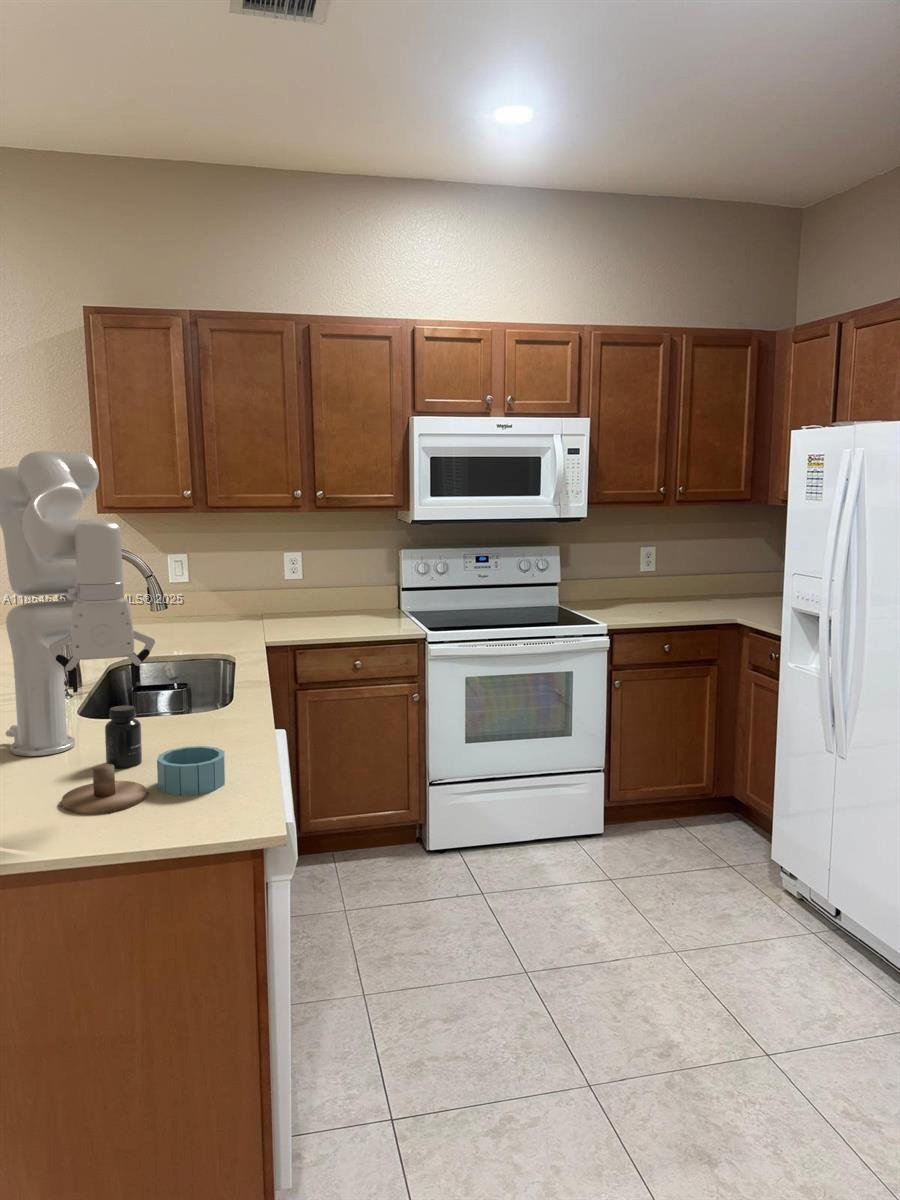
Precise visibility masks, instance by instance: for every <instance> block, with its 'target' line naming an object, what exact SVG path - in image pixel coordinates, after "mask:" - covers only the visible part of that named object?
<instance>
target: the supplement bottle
mask: <svg viewBox="0 0 900 1200" xmlns="http://www.w3.org/2000/svg"><path fill="white" fill-rule="evenodd" d="M108 716H109V721H108V722H107V723H106V724H105V726H104V735H105V738H104V739H105V742H104V743H105V764H112V765H114V770H124V769H131V768H135V767H137V766H140V765H141V764H142V763H143V760H142V759H143V758H142V757H143V756H142V755H143V751H142V724H141V722H140V721H139V720H138V719H136V716H137V714H136V707H135V706H133V705H118V706H113V707H110V709H109V715H108Z"/></svg>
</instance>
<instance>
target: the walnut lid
mask: <svg viewBox="0 0 900 1200" xmlns="http://www.w3.org/2000/svg"><path fill="white" fill-rule="evenodd" d="M115 775H116V773H115V769H114V765H112V764H106V763H102V764H97V765H94V766H92V781H93V782H92V783H89V784H84V785H81V786H78V787H76V788H73V789H71V790H68V791H67V792H66V793H65V794H63V796H62V797H61V804H62V806H63V807H62V808H63V809H64V810H65V811H66V812H68V813H69V812H70V813H72V814H73V813H75V814H80V815H100V814H104V813H109V812H113V813H115V812H120V811H122V810H123V811H124V810H126V809H129V808H132V807H135V806H137V805H138V804H140V803H142V802H143V801H144V800H145V799H146V798H147V795H146V792H147V789H146V787H145V786H144V784H141V783H138V782H135V781H129V780H116V778H115Z"/></svg>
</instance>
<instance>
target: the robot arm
mask: <svg viewBox="0 0 900 1200" xmlns="http://www.w3.org/2000/svg"><path fill="white" fill-rule="evenodd" d="M99 473H100V471H99V469H98V465H97V463H96V461H95V460H94V459H93V457H91V455H88V454H87V453H85V452H80V451H61V450H60V451H59V450H57V451H56V450H55V451H54V450H38V451H33V452H29V453H27V454H25V456H23V457H22V458H21V459H20V461H19V463H18V466H16V465H15V466H5V467H0V529H1V530H2V533H3V541H4V550H5V558H6V559H5V560H6V567H7V574H8V581H9V584H10V588H11V590H12V591H13V593H14V594H15V595H17V596H21V597H40V596H41V597H43V596H55V595H58V596H59V595H64V596H66V598H67V599H68V600H67V599H66V600H53V601H51V600H50V601H49V600H48V601H36V602H27V603H23V604H19V605H16V606H14V607H12V608H11V609H10V611H8V613H7V616H6V618H5V619H6V620H5V623H6V624H5V625H6V631H7V634H8V635H7V636H8V639H9V643H10V649H11V654H12V662H13V663H12V664H13V675H14V676H13V677H14V690H15V693H14V694H15V704H16V705H15V706H16V708H15V709H16V725H15V724H13V725H11V726H10V727H9V729H8V730H6V732H5V736H6V737H11V738H14V742H13V743H12V744H11V745H10V748H9V750H10V753H11V754H13V755H16V756H23V757H40V756H41V757H42V756H48V755H49V756H50V755H54V754H59V753H61V752H65V751H68V750H70V749H72V748H74V746H75V745H76V739H75V738H74V737H73V736H71V735H67V734H68V733H67V732H68V731H67V714H66V713H67V709H66V695H65V694H66V693H65V690H66V689H65V674H64V673H65V672H64V671H65V669H66V670H67V681H68V688H72V691H73V694H75V693H78V692H79V690H78V689H79V687H78V667H76V666H77V665H78V663H79V662H80V661H81V660H82V661H84V660H85V661H87V660H103V659H115V658H117V659H119V658H127V659H129V660H130V662H131V663H130V681H131V683H130V684H131V688H133V689H137V683H141V672H140V671H141V670H140V669H141V668H140V666H141V665H142V663H143V662H144V661H145V660H146V659H147V658H148V657H149V656H150V653H151V651H152V649H153V647H154V645H155V644H156V640H155V638H153V637H151V636H148V635H146V634H143V633H141V632H138V631H136V630H134V625H133V624H134V623H133V616H132V609H131V604H130V602H129V599H127V598H125V594H124V591H125V590H124V577H123V576H124V575H123V574H124V573H123V549H122V548H123V547H122V531H121V527H120V526H119V525H118V524H117V523H115V522H111V521H107V520H105V519H99V518H98V519H90V518H89V519H81V518H79V519H74V518H73V517H74V516H76V515H77V514H78V513H79V511H80V510H81V508H82V507H83V503H84V501H85V500H86V499H88V498H89V497H90V496H92V495H93V494H94V493H95V492H96V490H97V489H98V485H99V483H100V482H99V481H100V474H99ZM72 518H73V519H72ZM135 640H136V641H139V642H141V643H143V644H144V646H143V648H142V650H141V651H140V652H138V654H137V653H136V652H135ZM67 645H70V646H71V647H70V648H71V657H70V658H67V657H66V656H65V655H64V654H63V653H62V652H61V650H60V649H61V648H63V647H65V646H67ZM64 668H65V669H64Z"/></svg>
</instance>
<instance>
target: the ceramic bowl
mask: <svg viewBox="0 0 900 1200" xmlns="http://www.w3.org/2000/svg"><path fill="white" fill-rule="evenodd" d="M225 753H226V752H225V750H223V749H220V748H218V747H215V746H206V745H194V746H192V745H190V746H183V747H178V748H171V749H170V750H169V749H168V750H166V751H164V752H162V753H160V754H158V756H157V759H156V765H157V766H156V767H157V769H156V770H157V771H156V773H157V790H159V791H160V792H162V793H163V794H165V795H170V796H179V797H180V796H182V797H183V796H198V795H203V794H207V793H210V792H215V791H217V790H218V789H221V788H222V787H224V786H225V784H226V762H225V761H226V759H225V758H226V757H225Z"/></svg>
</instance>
